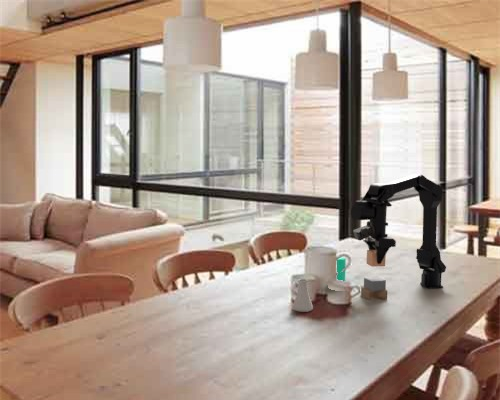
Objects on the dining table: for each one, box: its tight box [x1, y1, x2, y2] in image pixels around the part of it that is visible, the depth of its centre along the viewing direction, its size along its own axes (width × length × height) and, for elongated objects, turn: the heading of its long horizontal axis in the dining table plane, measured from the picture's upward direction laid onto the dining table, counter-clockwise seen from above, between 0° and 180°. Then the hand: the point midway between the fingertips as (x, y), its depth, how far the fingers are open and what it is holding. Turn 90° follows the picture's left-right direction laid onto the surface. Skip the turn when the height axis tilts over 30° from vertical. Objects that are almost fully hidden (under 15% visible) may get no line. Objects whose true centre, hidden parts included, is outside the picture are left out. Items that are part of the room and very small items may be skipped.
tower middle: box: [363, 276, 387, 291], centre depth 195 cm, size 6×6×4 cm
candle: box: [337, 256, 347, 282], centre depth 212 cm, size 6×6×12 cm
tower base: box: [360, 285, 388, 301], centre depth 196 cm, size 7×7×4 cm
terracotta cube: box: [366, 249, 387, 268], centre depth 196 cm, size 5×5×5 cm
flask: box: [291, 278, 314, 313], centre depth 181 cm, size 7×7×10 cm
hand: (375, 262), depth 196 cm, fingers closed on terracotta cube, 5 cm apart
